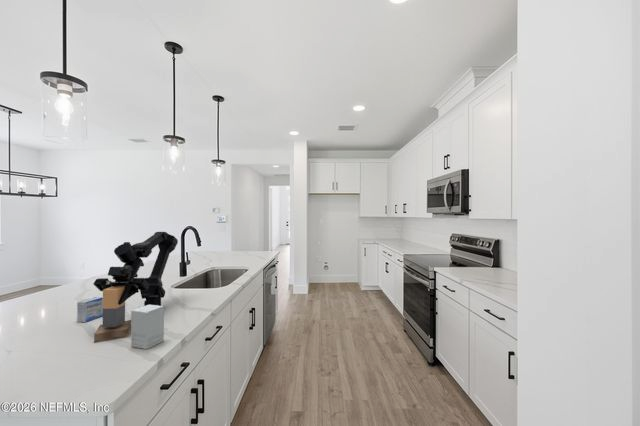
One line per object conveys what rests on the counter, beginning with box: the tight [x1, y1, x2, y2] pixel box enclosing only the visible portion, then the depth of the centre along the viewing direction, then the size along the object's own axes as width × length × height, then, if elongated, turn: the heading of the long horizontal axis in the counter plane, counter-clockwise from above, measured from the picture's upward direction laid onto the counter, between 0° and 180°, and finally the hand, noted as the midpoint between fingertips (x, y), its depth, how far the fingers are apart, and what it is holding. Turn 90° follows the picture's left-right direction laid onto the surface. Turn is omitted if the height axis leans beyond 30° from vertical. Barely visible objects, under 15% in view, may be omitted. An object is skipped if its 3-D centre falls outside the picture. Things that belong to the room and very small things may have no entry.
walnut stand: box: [93, 319, 131, 343], centre depth 107 cm, size 10×10×3 cm
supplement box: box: [130, 304, 165, 350], centre depth 99 cm, size 7×7×13 cm
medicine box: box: [76, 296, 103, 323], centre depth 123 cm, size 8×4×9 cm, turn 169°
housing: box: [102, 286, 126, 327], centre depth 107 cm, size 5×5×14 cm
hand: (111, 304), depth 106 cm, fingers closed on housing, 5 cm apart
